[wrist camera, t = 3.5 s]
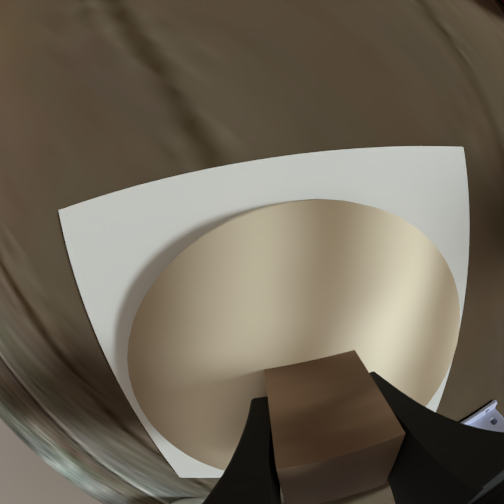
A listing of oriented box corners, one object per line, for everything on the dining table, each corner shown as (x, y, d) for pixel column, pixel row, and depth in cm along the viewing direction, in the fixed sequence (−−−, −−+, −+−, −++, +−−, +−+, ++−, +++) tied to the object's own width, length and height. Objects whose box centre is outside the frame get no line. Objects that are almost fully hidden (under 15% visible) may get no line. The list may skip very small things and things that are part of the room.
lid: (455, 181, 9) (554, 192, 4) (422, 426, 12) (456, 480, 7) (86, 242, 9) (-14, 290, 4) (193, 475, 13) (185, 542, 7)
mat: (456, 147, 10) (463, 147, 9) (427, 420, 14) (430, 424, 13) (64, 209, 10) (58, 210, 9) (180, 472, 14) (180, 477, 14)
